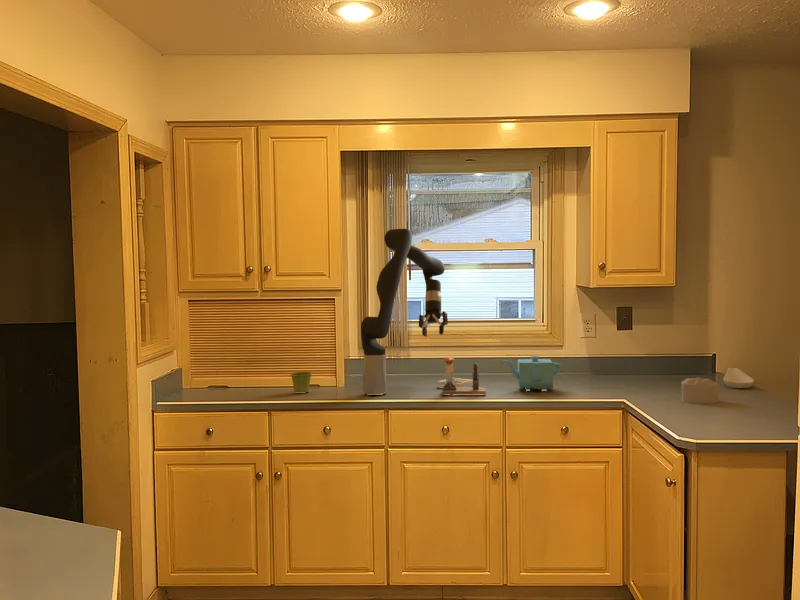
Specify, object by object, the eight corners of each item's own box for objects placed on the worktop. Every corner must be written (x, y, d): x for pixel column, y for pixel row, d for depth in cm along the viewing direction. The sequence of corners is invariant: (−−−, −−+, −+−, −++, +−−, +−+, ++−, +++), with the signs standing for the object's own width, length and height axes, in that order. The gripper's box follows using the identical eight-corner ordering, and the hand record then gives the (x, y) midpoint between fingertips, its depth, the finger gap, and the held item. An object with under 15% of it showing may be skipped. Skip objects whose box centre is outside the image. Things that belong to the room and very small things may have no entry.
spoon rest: (757, 390, 298) (757, 373, 297) (726, 390, 300) (726, 373, 300) (743, 381, 321) (743, 365, 320) (715, 381, 323) (715, 365, 323)
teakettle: (565, 389, 308) (565, 355, 308) (537, 395, 296) (537, 359, 296) (531, 385, 323) (530, 352, 322) (503, 390, 311) (502, 356, 310)
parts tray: (459, 390, 313) (459, 383, 312) (437, 387, 320) (437, 381, 320) (474, 386, 322) (474, 379, 322) (453, 384, 329) (452, 377, 329)
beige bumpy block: (681, 398, 284) (681, 376, 283) (717, 399, 280) (716, 377, 279) (682, 402, 274) (682, 380, 274) (719, 404, 270) (719, 381, 269)
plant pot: (314, 393, 312) (314, 373, 311) (293, 395, 308) (293, 375, 308) (309, 390, 320) (309, 371, 320) (288, 392, 317) (288, 372, 316)
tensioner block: (485, 395, 297) (485, 363, 297) (442, 396, 299) (441, 364, 298) (484, 391, 307) (484, 360, 307) (442, 392, 309) (442, 361, 308)
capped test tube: (450, 390, 300) (450, 359, 300) (442, 389, 303) (441, 359, 303) (456, 389, 304) (456, 358, 303) (448, 388, 307) (447, 357, 306)
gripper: (416, 301, 338) (415, 335, 333) (442, 297, 331) (442, 331, 326) (424, 305, 344) (423, 338, 339) (450, 301, 337) (450, 335, 332)
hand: (432, 335), depth 333 cm, fingers open, 8 cm apart
